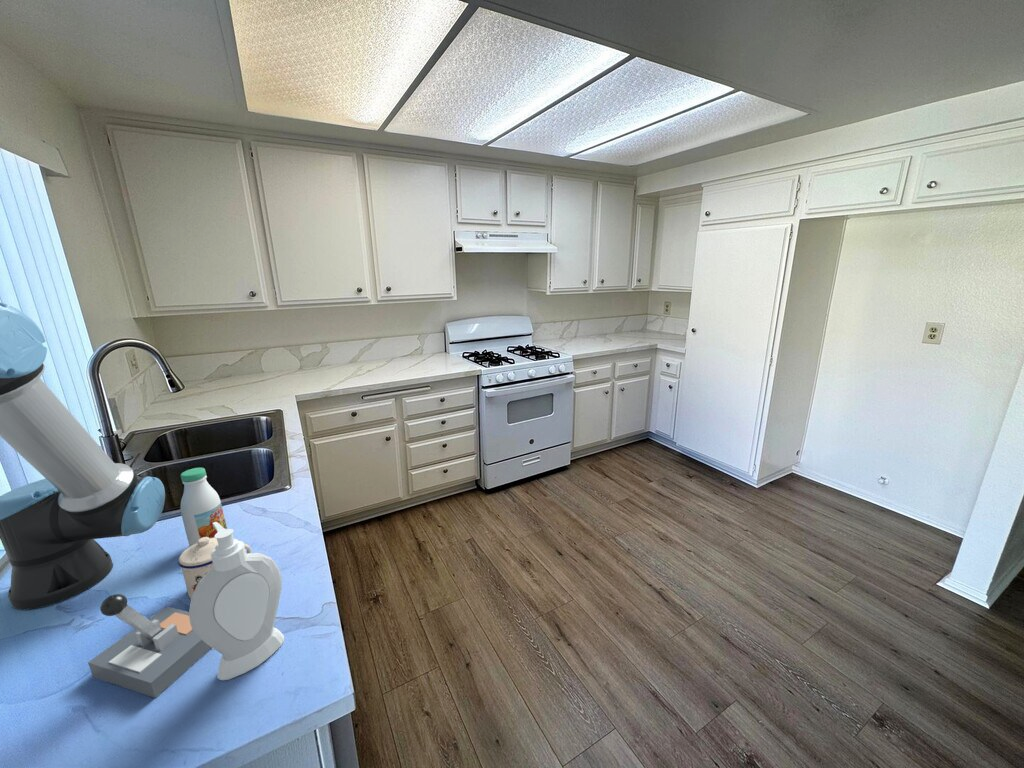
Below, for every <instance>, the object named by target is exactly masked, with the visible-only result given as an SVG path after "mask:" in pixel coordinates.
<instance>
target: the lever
mask: <svg viewBox="0 0 1024 768" xmlns="http://www.w3.org/2000/svg"><path fill="white" fill-rule="evenodd" d="M100 613H101V614H102V615H104V616H106V617H113V616H115V617H116V618H118V619H119V620H121V621H122V622H124V624H127V625H128V626H130V627H131V628H133V630H134V629H136V630H137V631H138V632H140V633H141V634H143V635H144V636H146V637H147V640H149V641H153V638H154V637H155V636H156V635H158V634H159V633H160V632H162V631H163V630H162V629H161V628H159V627H158V626H157V625H155V624H154V623H152V622H151V621H150V620H148V619H149V618H147V617H145V616H144V615H143V614H142V613H140V612H139V611H137V610H136V609H134V608H133V607H132V606H130V605H129V604H128V599H127V597H126V596H125V595H124V594H121V593H117V594H116V593H115V594H112V595H110V596H108V597H106V598H105V599H104V600H103V601H102V603H101V604H100ZM153 642H154V641H153Z"/></svg>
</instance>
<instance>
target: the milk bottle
mask: <svg viewBox="0 0 1024 768" xmlns="http://www.w3.org/2000/svg"><path fill="white" fill-rule="evenodd" d="M207 478H208V476H207V472H206V469H205V468H204V467H194V468H191V469H186V470H185V471H183V472H181V473H180V479H181V482H182V484H183V485H184V487H183V494H182V497H181V500H180V513H181V518H182V523H183V526H184V530H185V535H186V539H187V542H188V548H189V547H190V546H192V545H194V544H196V543H197V542H198V540H199V539H201V538H203V537H208V538H209V539H210V538H215V534H216V533H217V530H216V528H215V527H214V526H213V523H214V522H217V523H219V524H220V525H221V526H222V527H223V528H224V529H228V526H227V522H226V521H227V520H226V518H225V513H224V509H223V506H222V501H221V498H220V495H219V494H218V492H217V491H216V490H215V489H214V487H212V486H211V484H209V482H208V481H207Z"/></svg>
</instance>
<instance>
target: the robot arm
mask: <svg viewBox="0 0 1024 768" xmlns="http://www.w3.org/2000/svg"><path fill="white" fill-rule="evenodd" d="M43 343H46V337H45V335H44V333H43V331H42V330H41V328H40V327H39V326H38V325H37V323H36V322H35V321H34V320H33V319H32V318H30V317H29V316H28V315H27V314H26V313H25V312H23V311H21V310H19V309H18V308H16V307H14V306H11V305H9V304H7V303H5V302H0V438H1V439H3V440H4V441H5V442H6V443H7V444H8V445H9V446H10V447H11V448H12V449H14V451H16V452H17V453H18V454H19V455H20V456H21V457H22V458H23V459H24V460H25V461H26V462H27V463H29V465H31V466H32V468H34V469H35V470H36V471H37V472H38V473H39V474H40V475H42V477H44V478H42V479H39V480H36V481H33V482H29V483H27V484H23V485H22V486H19V487H17V488H14V489H12V490H9V491H7V492H5V493H4V494H2V495H0V541H1V544H2V547H3V549H4V551H5V553H6V556H7V558H8V560H9V562H10V566H11V574H10V587H9V589H8V593H7V596H8V600H9V602H10V605H11V606H12V608H14V609H17V610H21V611H22V610H25V611H26V610H35V609H39V608H44V607H47V606H52V605H55V604H57V603H61V602H63V601H66V600H68V599H70V598H72V597H75V596H78V595H79V594H81V593H83V592H86V590H89V589H91V588H93V587H94V586H95V585H97V584H99V583H100V582H101V581H102V580H103V579H104V578H106V577H107V576H108V575H109V574H110V573H111V572H112V570H113V567H114V562H113V559H112V557H111V555H110V553H109V552H107V551H106V550H105V549H104V548H103V547H102V545H100V544H99V543H98V541H96V540H98V539H106V538H107V539H108V538H117V537H130V536H132V535H136V534H142V533H144V532H147V531H148V530H151V529H152V528H153V526H154V525H155V524H157V522H158V520H159V519H160V517H161V515H162V513H163V510H164V507H165V506H164V505H165V500H166V492H165V491H166V490H165V486H164V484H163V482H162V481H161V479H160V478H158V477H154V476H145V477H141V476H139V475H138V474H137V473H136V472H135V471H134V470H133V468H132V467H130V465H129V464H128V465H127V464H125V463H120V462H114V461H113V460H112V459H111V457H110V456H109V455H108V454H107V452H105V451H104V449H103V448H102V447H101V446H100V445H99V444H98V443H97V441H96V440H95V439H94V438H93V437H92V436H91V434H90V433H89V432H88V431H87V429H85V428H84V427H83V425H82V424H81V423H80V422H79V421H78V420H77V418H76V417H75V416H74V415H73V414H72V413H71V412H70V410H69V409H68V408H67V407H66V406H65V405H64V403H62V401H60V399H59V398H58V397H57V396H56V394H55V393H54V392H53V391H52V390H51V389H50V388H49V386H48V385H47V384H46V383H45V382H44V381H43V379H42V378H41V377H42V375H43V373H44V372H45V369H46V367H45V366H46V365H45V364H44V362H45V360H46V357H47V353H48V348H47V346H45V345H43Z"/></svg>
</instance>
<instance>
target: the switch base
mask: <svg viewBox="0 0 1024 768" xmlns="http://www.w3.org/2000/svg"><path fill="white" fill-rule="evenodd" d="M147 619H148V620H150V621H151V622H152V623H154V624H155V625H157V626H158V627H159V628H161V629H162V630H163V631H162V632H160V633H159V634H158V635H156V636H155V637H154V638H153V641H154V642H153V641H149V640H147V637H146V636H144V635H143V634H141V633H140V632H138V631H137V630H136V629H134V628H133V629H132V630H131V631H129V632H128V633H127V634H126V635H124V636H123V637H122V638H120V639H118V640H117V641H116V642H114V643H113V644H111V645H110V646H109V647H107V648H106V649H104V650H103V651H102V652H100V653H99V654H98V655H96V656H95V657H93V658H92V659H90V660H89V661H87V665H88V667H89V669H90V672H91V674H92V677H93V678H95V679H97V680H101V681H104V682H107V683H109V682H110V683H109V684H112V683H113V685H115V684H116V685H115V686H118V685H119V687H122V688H125V689H127V688H128V689H127V690H131V691H134V692H137V693H140V694H143V695H144V696H148V697H152V698H154V699H157V697H159V696H160V695H161V694H162V693H163V692H165V691H166V690H167V689H168V688H169V687H170V686H171V685H172V684H174V682H175V681H176V680H178V679H179V678H180V677H181V676H182V675H183V674H185V672H187V671H188V670H189V669H190V668H192V666H193V665H194V664H196V663H197V662H198V661H199V660H200V659H201V658H202V657H203V656H204V655H206V654H207V653H208V652H209V651H210V650H211V649H213V648H212V647H210V646H209V645H207V644H206V643H205V642H204V641H203V640H202V639H201V638H199V637H198V636H197V635H196V633H195V632H194V631H193V629H192V627H191V624H190V617H189V611H187V610H183V609H178V608H175V607H170V606H165V607H163V608H162V609H160V610H159V611H158V612H156V613H155V614H153V615H152V616H150V617H149V618H147Z"/></svg>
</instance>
